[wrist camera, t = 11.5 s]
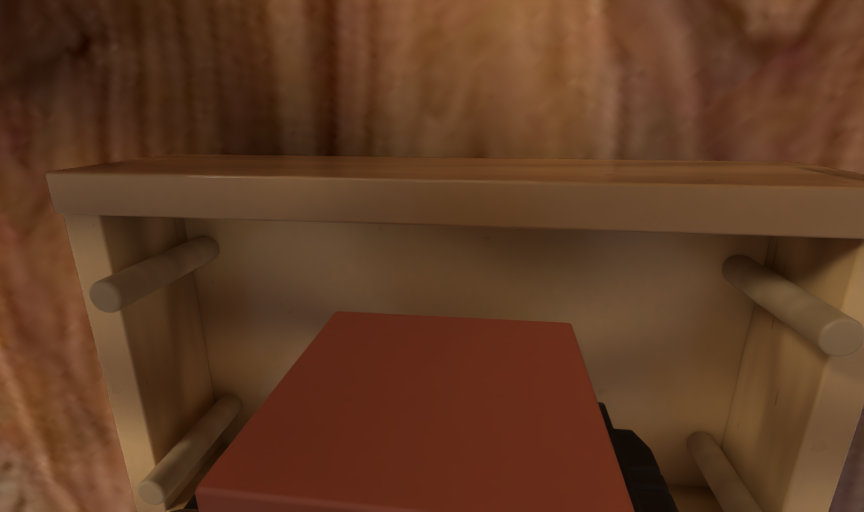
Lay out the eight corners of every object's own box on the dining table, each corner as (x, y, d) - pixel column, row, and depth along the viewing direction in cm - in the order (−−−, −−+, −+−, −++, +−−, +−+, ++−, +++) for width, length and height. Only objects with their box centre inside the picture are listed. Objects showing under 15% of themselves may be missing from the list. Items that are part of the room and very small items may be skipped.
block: (335, 309, 10) (190, 488, 5) (572, 321, 9) (646, 538, 5) (349, 491, 12) (247, 757, 7) (554, 513, 11) (597, 821, 6)
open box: (170, 153, 15) (8, 177, 10) (798, 161, 12) (995, 196, 8) (219, 440, 18) (116, 563, 13) (720, 487, 16) (822, 657, 11)
